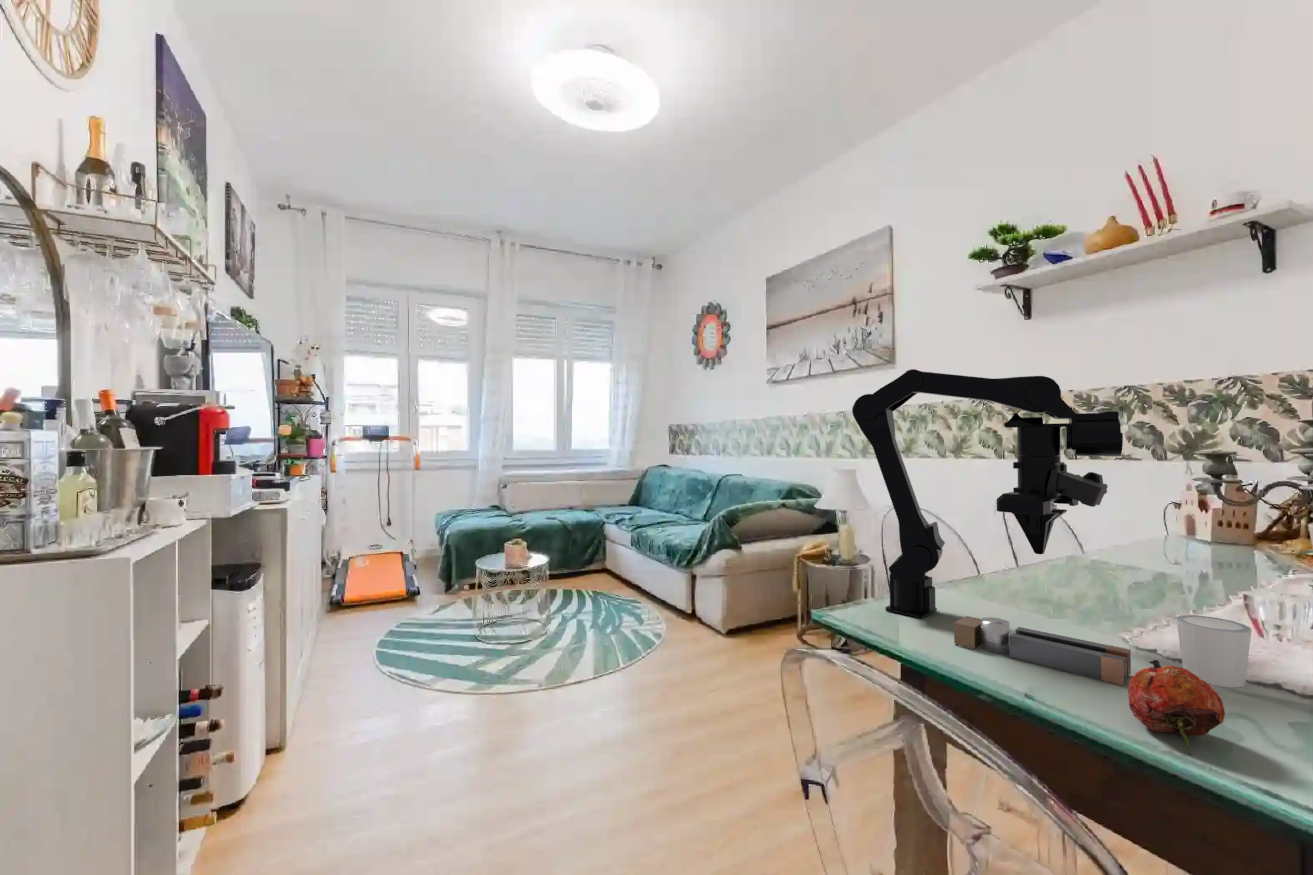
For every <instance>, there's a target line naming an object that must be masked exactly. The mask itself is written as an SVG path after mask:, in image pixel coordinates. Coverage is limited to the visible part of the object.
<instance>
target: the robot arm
mask: <svg viewBox="0 0 1313 875" xmlns="http://www.w3.org/2000/svg"><path fill="white" fill-rule="evenodd" d="M1061 392H1062V390H1061V387H1060V384H1058V383H1057V381H1056V380H1055V379H1053V378H1051V377H1049V376H1046V375H1045V376H1043V375H1030V376H1014V377H1013V376H1011V377H1004V378H1003V377H1002V378H989V377H980V376H979V377H978V376H969V375H962V374H961V375H959V374H951V373H941V372H932V371H931V372H930V371H921V370H918V369H916V368H915V369H908V370H906V371H905V372H903V373H902V375H900V376H898V377H896V379H893V380H892V381H890V382H889V383H887V384H885V385H884V386H882V387H880V388H879V389H878V390H876V391H875V392H873V393H866V394H862V395H861V396H859V397H858V398H857V399H856V400H855V401H854V403H853V405H852V409H851V411H852V416H853V418H854V420H855V421H856V424H857V425H858V427H859V429H860V430H861V433H863V435H864V436H865V438H866V439H867V441H868V442H869V444H870V445H871V448H872V449H873V451H874V454H875V455H874V456H875V458H876V460H877V463H878V467H879V469H880V471H881V474H882V475H881V476H882V478H883V480H884V483H885V487H886V489H887V493H888V495H889V497H890V501H891V504H892V506H893V509H894V512H895V515H896V518H897V521H898V532H899V543H900V544H899V545H900V551H901V555H899V556H898V557H897V558H896V559H895V560H894V561H893V563H891V565H890V566H889V567H888V571H889V573H890V574H889V605H887V606H885V611H888V612H893V613H896V614H897V613H898V614H901V615H906V616H910V617H914V618H918V619H919V618H920V619H921V618H922V619H923V618H924V617H926V616H928V615H931V614H933V613H935V612H937V611H938V608H937V607H936V587H935V586H934V585H933V577H932V576H928V575H927V573H928V572H930V571H932V570H933V569H934V568H936V567H937V565H938V563H939V562H940V560H941V559H942V558H941V557H943V556H942V555H943V551H944V550H943V547H944V546H945V544H946V542H945V540H943V539H942V537H941V535H940V530H939V525H938V522H937V521H933V522H932V523H929V521H928V520H927V519H926V518H925V516H924V515H923V512H922V511H921V508H920V505H919V503H918V499H917V496H916V494H915V491H914V488H913V484H912V482H911V479H910V477H909V474H908V471H907V468H906V466H905V462H904V460H903V457H902V454H901V451H900V449H899V447H898V443H897V440H896V428H895V427H896V426H895V418H894V413H893V412H894V411H896V410H898V408H900V407H902V406H903V405H905V404H906V403H907V402H908V401H909V400H910V399H912V398H913V397H914V396H915V395H917V394H928V395H935V396H942V397H953V398H962V399H968V400H976V401H977V400H978V401H979V400H980V401H983V402H984V401H986V402H992V403H995V404H999V405H1001V406H1004V407H1008V408H1012V409H1015V410H1019V411H1023V412H1027V413H1029V414H1046V415H1048V416H1049V417H1051V418H1053V419H1054V420H1068V423H1067V422H1066V423H1063V422H1061V423H1060V422H1059V423H1044V417H1043V416H1032V417H1031V416H1028V417H1024V416H1023V417H1022V416H1021V415H1020V414H1018V413H1017V412H1014V413H1013V415H1012V416H1011V418H1010V419H1009V420H1007V421H1006V422H1005V423H1003V426H1004V428H1007V429H1008V428H1009V429H1010V428H1014V429H1015V428H1017V429H1016V431H1017V432H1016V433H1017V434H1016V435H1017V436H1016V437H1017V438H1016V440H1017V442H1016V443H1017V444H1016V445H1017V450H1016V451H1017V461H1013V462H1012V468H1013V469H1015V470H1017V486H1016V487H1013V491H1010V492H1005V493H1002V494H1001V495H1000V496H998V497H997V498H996V512H1001V513H1010V514H1011V515H1012V514H1013V516H1014V518H1015V519H1016V522H1018V525H1019V526H1020V528H1021V529H1022V532H1023V533H1024V535H1025V538H1026V539H1027V541H1028V543H1029V545H1030V547H1031V549H1032V551H1033V553H1034V554H1036V555H1043V554H1045V552H1046V549H1047V547H1048V546H1047V545H1048V541H1049V538H1050V536H1051V535H1050V534H1051V532H1052V529H1053V526H1054V522H1055V521H1056V519H1058V518H1059V517H1061V516H1062V515H1064V514H1066V513H1067V512H1068V509H1061V508H1058V507H1057V504H1058V505H1059V504H1063V505H1068V506H1070V507H1075V506H1079V502H1080V503H1081V504H1083V505H1085V506H1088V507H1096V506H1100V505H1101V503H1102V500H1103V498H1104V495H1106V494H1107V493H1108V490H1107V489H1108V484H1107V483H1104V479H1103V475H1102V474H1099V473H1097V472H1093V471H1090V472H1087V473H1086V474H1084V475H1082V476H1081V475H1080V474H1074V473H1071V472H1068V468H1067V464H1066V463H1065V462H1064V461H1061V428H1064V448H1065V450H1068V451H1069V450H1072V451H1073V456H1075V457H1121V456H1122V453H1123V452H1122V451H1123V445H1124V443H1123V442H1124V435H1123V432H1121V422H1120V418H1119V416H1120V415H1119V414H1120V412H1118V411H1116V410H1115V411H1114V410H1113V411H1104V412H1089V413H1088V412H1087V413H1086V412H1084V413H1083V412H1082V413H1076V412H1075V411H1074V410H1073V407H1071V406H1069V404H1068V403H1067V402H1066V401H1064V399H1062V393H1061Z"/></svg>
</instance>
